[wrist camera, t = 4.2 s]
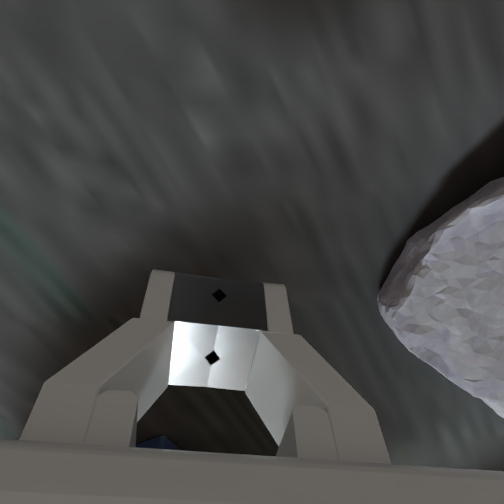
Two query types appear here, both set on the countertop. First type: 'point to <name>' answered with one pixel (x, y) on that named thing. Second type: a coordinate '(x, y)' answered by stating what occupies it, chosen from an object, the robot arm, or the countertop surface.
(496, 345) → the stone block
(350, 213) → the countertop surface
